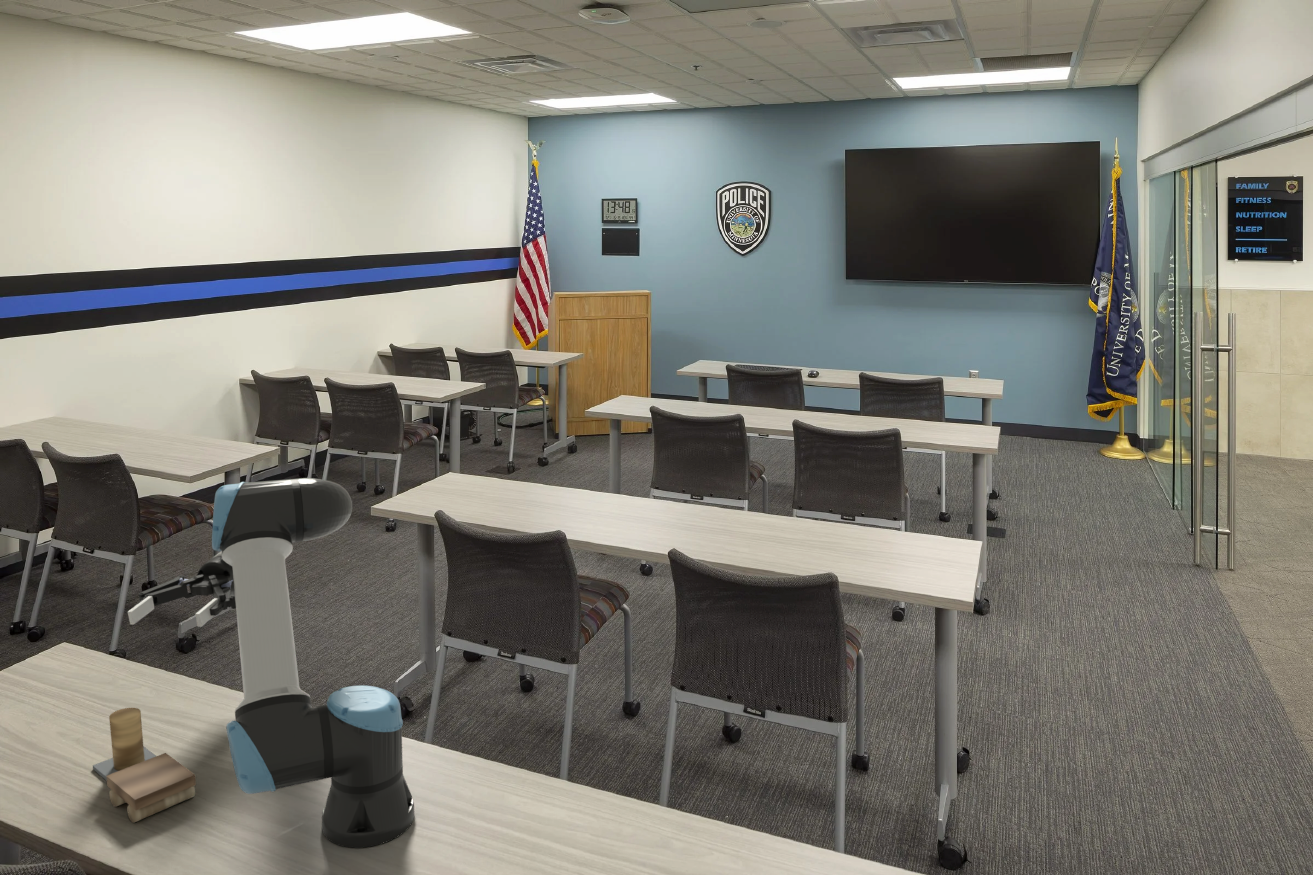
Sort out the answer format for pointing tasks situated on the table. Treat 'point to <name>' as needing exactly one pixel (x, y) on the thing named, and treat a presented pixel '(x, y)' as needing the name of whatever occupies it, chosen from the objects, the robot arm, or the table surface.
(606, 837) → the table surface
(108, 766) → the pad
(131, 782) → the slab
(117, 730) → the roller
